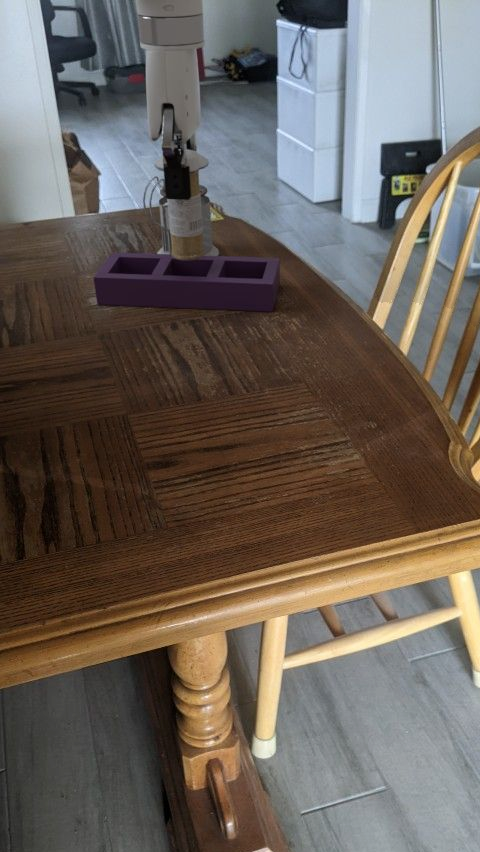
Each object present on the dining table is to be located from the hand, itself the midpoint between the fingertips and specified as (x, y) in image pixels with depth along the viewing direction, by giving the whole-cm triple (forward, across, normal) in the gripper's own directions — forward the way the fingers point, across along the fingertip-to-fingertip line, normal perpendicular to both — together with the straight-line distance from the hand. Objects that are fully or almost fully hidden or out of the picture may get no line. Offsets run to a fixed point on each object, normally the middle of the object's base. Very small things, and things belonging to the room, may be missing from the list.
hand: (182, 190), depth 102 cm
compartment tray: (+14, 0, 0) cm, 14 cm away
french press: (+15, -15, -4) cm, 21 cm away
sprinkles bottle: (+9, 0, 0) cm, 9 cm away
